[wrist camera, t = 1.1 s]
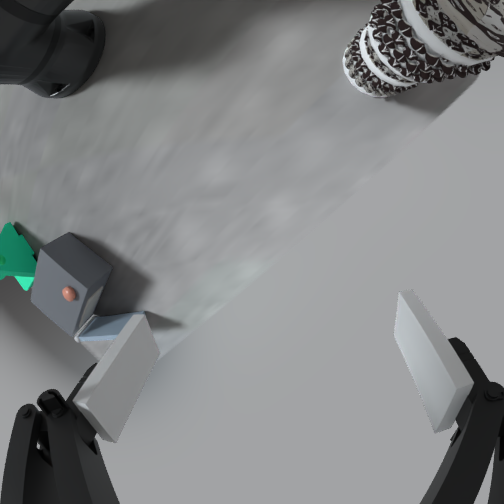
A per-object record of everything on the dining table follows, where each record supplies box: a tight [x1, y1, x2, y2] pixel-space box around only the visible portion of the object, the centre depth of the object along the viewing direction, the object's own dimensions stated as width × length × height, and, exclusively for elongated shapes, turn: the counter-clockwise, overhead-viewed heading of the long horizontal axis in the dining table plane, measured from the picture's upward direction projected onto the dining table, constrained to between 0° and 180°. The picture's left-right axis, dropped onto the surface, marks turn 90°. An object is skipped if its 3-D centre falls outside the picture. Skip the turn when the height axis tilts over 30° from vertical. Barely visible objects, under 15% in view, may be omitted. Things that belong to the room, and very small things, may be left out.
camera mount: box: [0, 222, 37, 290], centre depth 40 cm, size 12×8×10 cm, turn 38°
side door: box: [74, 311, 146, 342], centre depth 43 cm, size 1×12×7 cm, turn 105°
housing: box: [31, 232, 113, 337], centre depth 40 cm, size 10×13×8 cm
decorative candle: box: [342, 0, 504, 98], centre depth 17 cm, size 9×9×25 cm
